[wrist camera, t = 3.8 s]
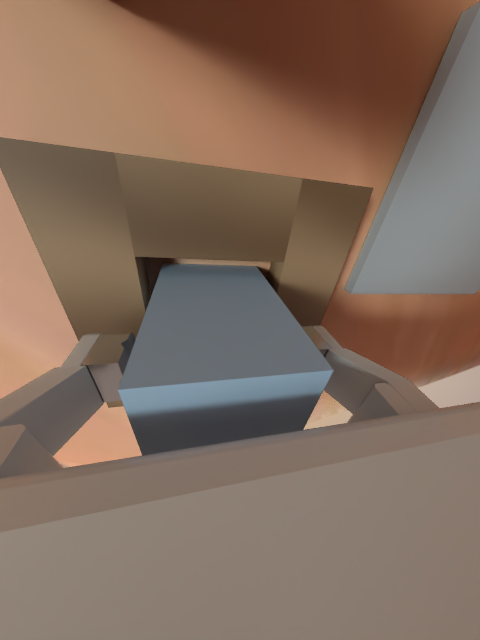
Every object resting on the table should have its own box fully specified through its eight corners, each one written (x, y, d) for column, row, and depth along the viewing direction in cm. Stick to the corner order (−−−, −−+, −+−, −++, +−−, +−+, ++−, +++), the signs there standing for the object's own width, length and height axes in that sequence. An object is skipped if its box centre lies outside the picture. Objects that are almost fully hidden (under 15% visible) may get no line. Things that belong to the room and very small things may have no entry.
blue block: (163, 262, 9) (117, 389, 4) (256, 265, 10) (333, 369, 5) (172, 338, 12) (152, 482, 6) (246, 335, 13) (288, 457, 7)
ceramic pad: (461, 12, 7) (482, -1, 6) (631, 81, 9) (657, 75, 8) (344, 289, 12) (350, 294, 12) (465, 290, 14) (475, 293, 14)
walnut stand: (24, 144, 6) (-15, 135, 5) (349, 187, 9) (373, 188, 8) (116, 386, 13) (108, 407, 12) (287, 371, 16) (295, 387, 14)
